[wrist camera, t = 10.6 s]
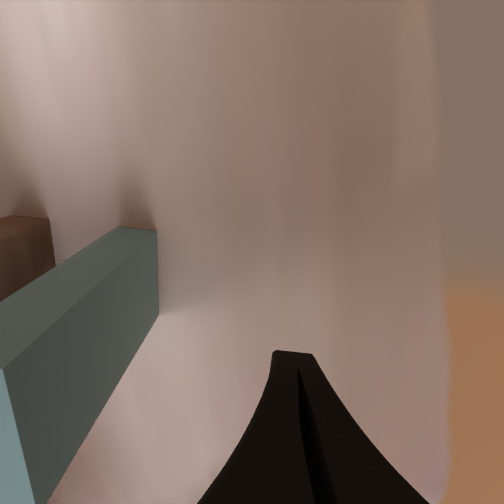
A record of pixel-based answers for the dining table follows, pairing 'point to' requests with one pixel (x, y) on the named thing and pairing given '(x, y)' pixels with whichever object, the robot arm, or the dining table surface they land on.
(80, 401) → the domino
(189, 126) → the dining table surface
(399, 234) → the dining table surface
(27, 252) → the domino
